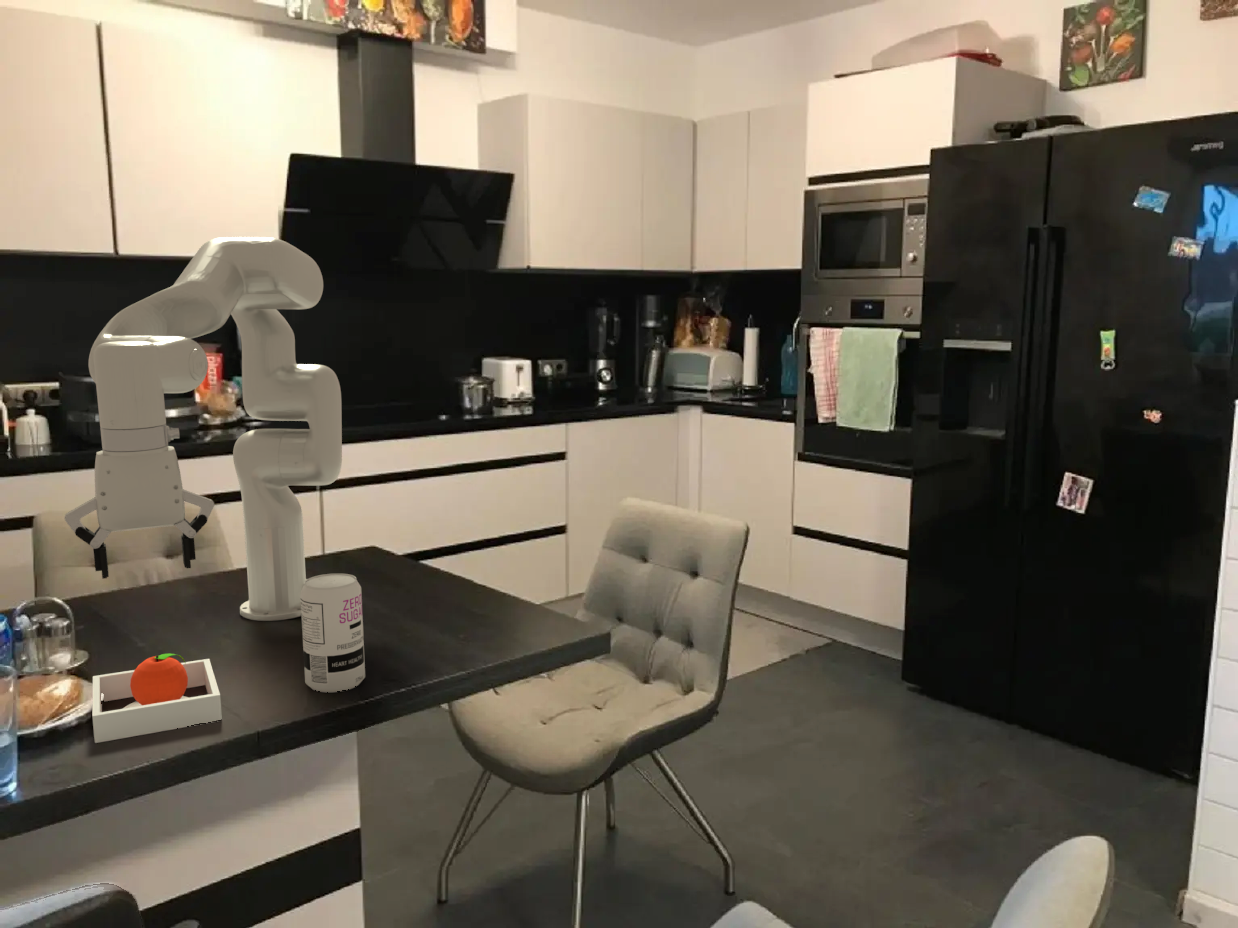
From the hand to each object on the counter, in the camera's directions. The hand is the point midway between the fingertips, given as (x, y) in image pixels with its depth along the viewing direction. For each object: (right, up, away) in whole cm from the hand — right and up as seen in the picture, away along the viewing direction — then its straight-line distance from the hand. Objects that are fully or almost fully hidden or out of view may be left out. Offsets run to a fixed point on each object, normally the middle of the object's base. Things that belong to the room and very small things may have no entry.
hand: (147, 570), depth 131 cm
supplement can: (+21, -17, +12) cm, 30 cm away
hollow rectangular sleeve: (0, -19, +3) cm, 19 cm away
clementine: (+1, -19, +4) cm, 19 cm away
